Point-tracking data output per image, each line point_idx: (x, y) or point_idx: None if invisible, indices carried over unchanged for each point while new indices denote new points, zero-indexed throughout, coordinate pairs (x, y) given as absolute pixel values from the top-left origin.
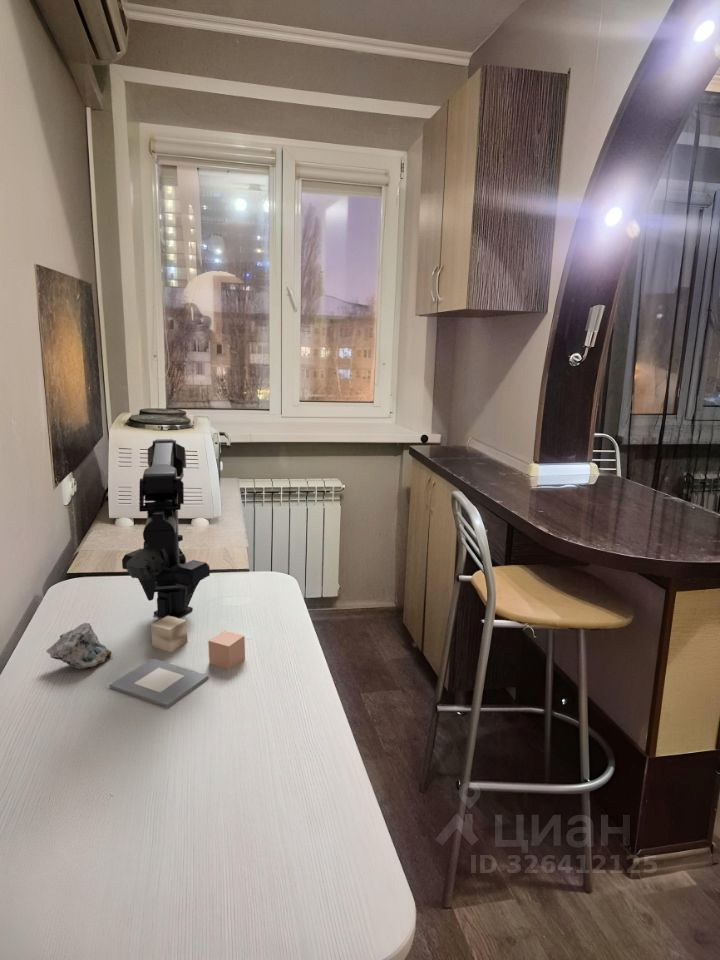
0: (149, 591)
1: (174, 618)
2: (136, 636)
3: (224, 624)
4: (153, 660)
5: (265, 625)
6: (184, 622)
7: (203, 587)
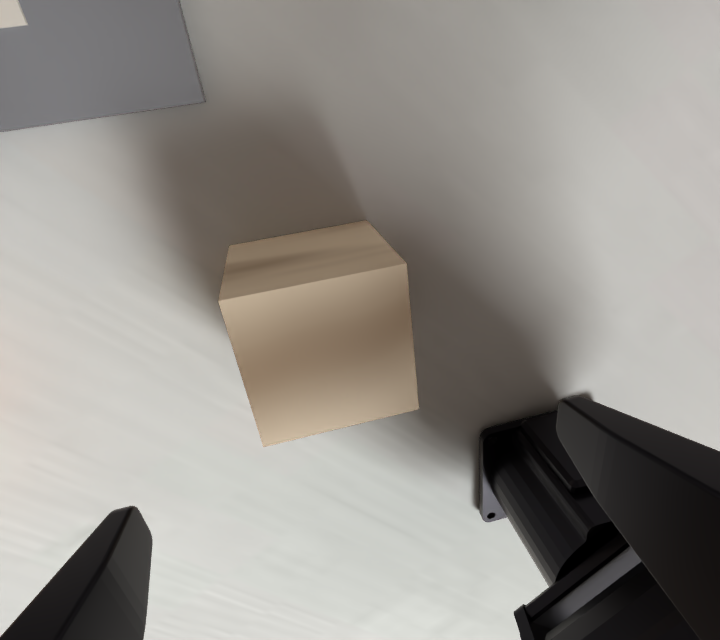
0: (632, 473)
1: (347, 413)
2: (521, 234)
3: (272, 537)
4: (169, 82)
5: None
6: (259, 427)
7: None
